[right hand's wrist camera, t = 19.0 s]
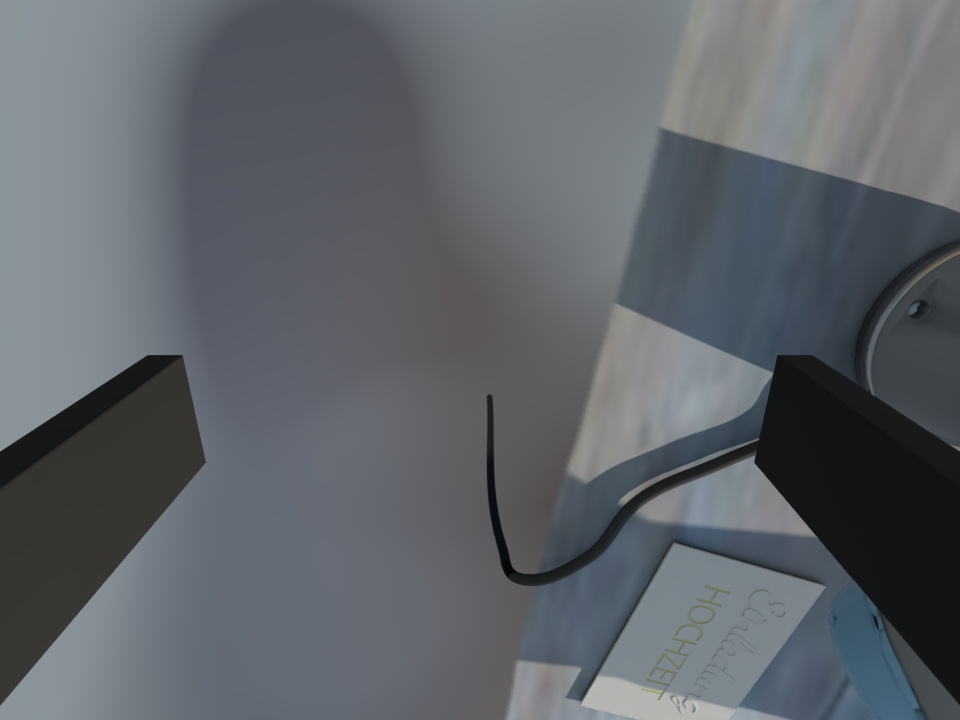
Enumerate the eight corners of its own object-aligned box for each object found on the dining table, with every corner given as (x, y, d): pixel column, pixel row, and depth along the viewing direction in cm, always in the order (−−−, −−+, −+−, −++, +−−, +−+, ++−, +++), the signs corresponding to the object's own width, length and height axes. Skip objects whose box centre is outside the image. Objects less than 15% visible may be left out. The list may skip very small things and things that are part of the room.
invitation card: (674, 544, 48) (826, 587, 49) (673, 542, 48) (824, 584, 50) (580, 706, 55) (715, 738, 57) (580, 703, 55) (714, 735, 57)
